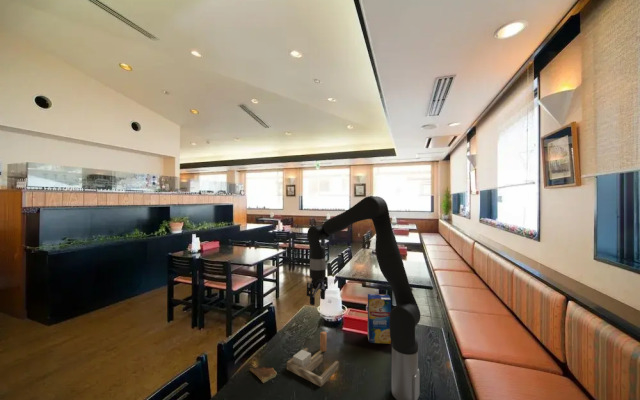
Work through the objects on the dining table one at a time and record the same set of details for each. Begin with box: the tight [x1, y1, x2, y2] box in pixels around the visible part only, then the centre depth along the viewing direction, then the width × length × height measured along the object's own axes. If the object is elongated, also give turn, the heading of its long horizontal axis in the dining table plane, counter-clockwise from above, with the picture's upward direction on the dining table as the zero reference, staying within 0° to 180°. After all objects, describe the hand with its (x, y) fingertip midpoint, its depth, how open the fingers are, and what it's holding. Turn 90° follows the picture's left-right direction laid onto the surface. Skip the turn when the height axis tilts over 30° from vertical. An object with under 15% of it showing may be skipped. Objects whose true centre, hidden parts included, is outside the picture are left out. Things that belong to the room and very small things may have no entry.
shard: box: [249, 366, 278, 384], centre depth 104 cm, size 11×8×2 cm
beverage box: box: [367, 293, 392, 345], centre depth 130 cm, size 7×11×22 cm, turn 85°
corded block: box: [292, 331, 328, 368], centre depth 113 cm, size 5×20×8 cm, turn 145°
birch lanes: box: [286, 347, 340, 388], centre depth 106 cm, size 18×13×3 cm
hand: (317, 301), depth 119 cm, fingers open, 8 cm apart
